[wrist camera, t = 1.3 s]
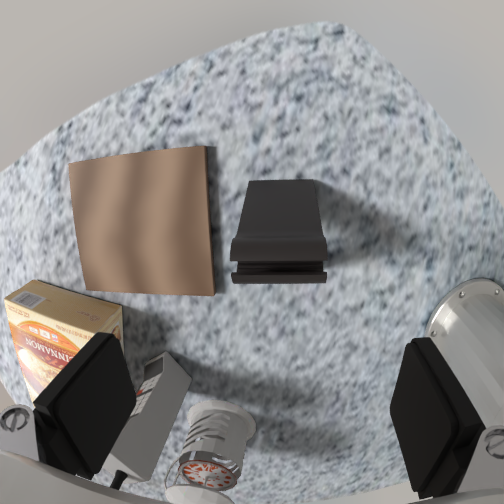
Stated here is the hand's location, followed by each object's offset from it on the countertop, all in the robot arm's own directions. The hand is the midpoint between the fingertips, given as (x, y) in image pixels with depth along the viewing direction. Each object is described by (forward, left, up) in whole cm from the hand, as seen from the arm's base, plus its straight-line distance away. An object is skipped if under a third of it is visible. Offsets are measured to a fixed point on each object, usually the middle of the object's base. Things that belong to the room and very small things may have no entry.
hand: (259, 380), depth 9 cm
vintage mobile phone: (+14, +18, -23) cm, 32 cm away
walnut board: (+15, 0, -23) cm, 27 cm away
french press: (+9, +28, -23) cm, 37 cm away
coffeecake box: (+26, +8, -19) cm, 33 cm away
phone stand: (0, 0, -23) cm, 23 cm away
